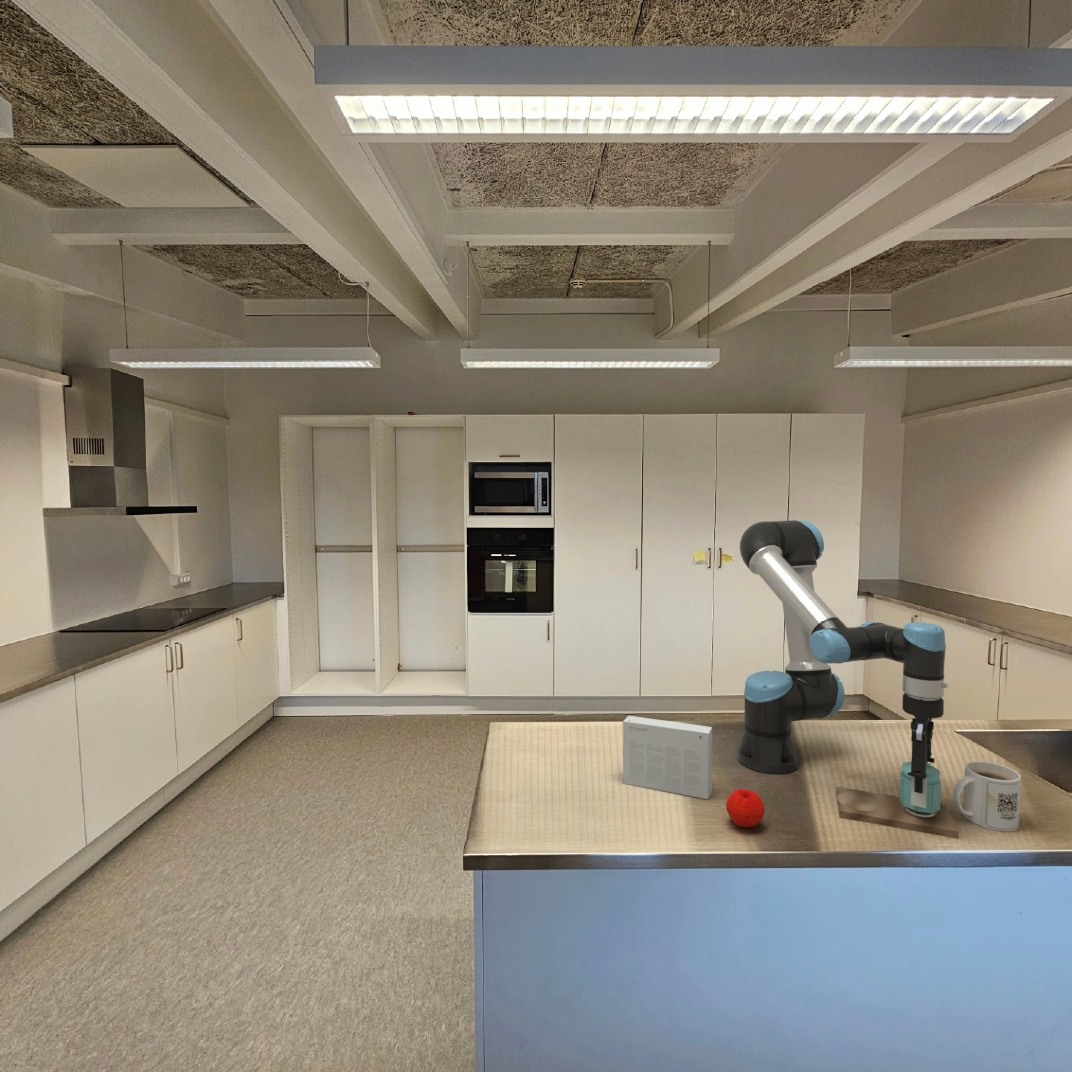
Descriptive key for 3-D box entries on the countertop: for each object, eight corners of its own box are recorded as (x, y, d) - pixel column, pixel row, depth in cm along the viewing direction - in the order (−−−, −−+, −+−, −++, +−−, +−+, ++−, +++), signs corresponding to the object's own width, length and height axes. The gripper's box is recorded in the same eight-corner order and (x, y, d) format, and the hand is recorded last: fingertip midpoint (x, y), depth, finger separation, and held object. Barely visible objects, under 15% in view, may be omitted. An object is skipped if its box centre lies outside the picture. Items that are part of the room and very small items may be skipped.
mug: (1022, 838, 125) (1024, 786, 124) (952, 822, 131) (953, 773, 131) (1015, 815, 134) (1017, 766, 133) (949, 801, 140) (951, 755, 139)
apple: (743, 838, 126) (743, 804, 126) (717, 820, 133) (717, 787, 133) (772, 829, 129) (773, 796, 129) (745, 812, 137) (746, 780, 136)
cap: (893, 801, 134) (894, 765, 134) (913, 793, 137) (914, 759, 137) (926, 815, 128) (927, 778, 127) (945, 807, 131) (946, 771, 131)
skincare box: (712, 790, 147) (713, 726, 146) (709, 800, 142) (709, 734, 141) (628, 774, 156) (628, 714, 155) (622, 783, 151) (621, 721, 150)
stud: (905, 815, 131) (906, 780, 131) (901, 802, 137) (902, 769, 136) (938, 821, 129) (939, 785, 129) (932, 807, 135) (933, 773, 134)
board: (838, 817, 134) (838, 810, 134) (835, 792, 145) (835, 786, 145) (958, 838, 125) (958, 831, 125) (945, 810, 136) (945, 803, 136)
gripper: (939, 712, 121) (937, 823, 122) (947, 686, 137) (945, 785, 138) (896, 704, 125) (894, 812, 127) (908, 680, 142) (906, 776, 143)
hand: (920, 798), depth 133 cm, fingers closed on cap, 8 cm apart
